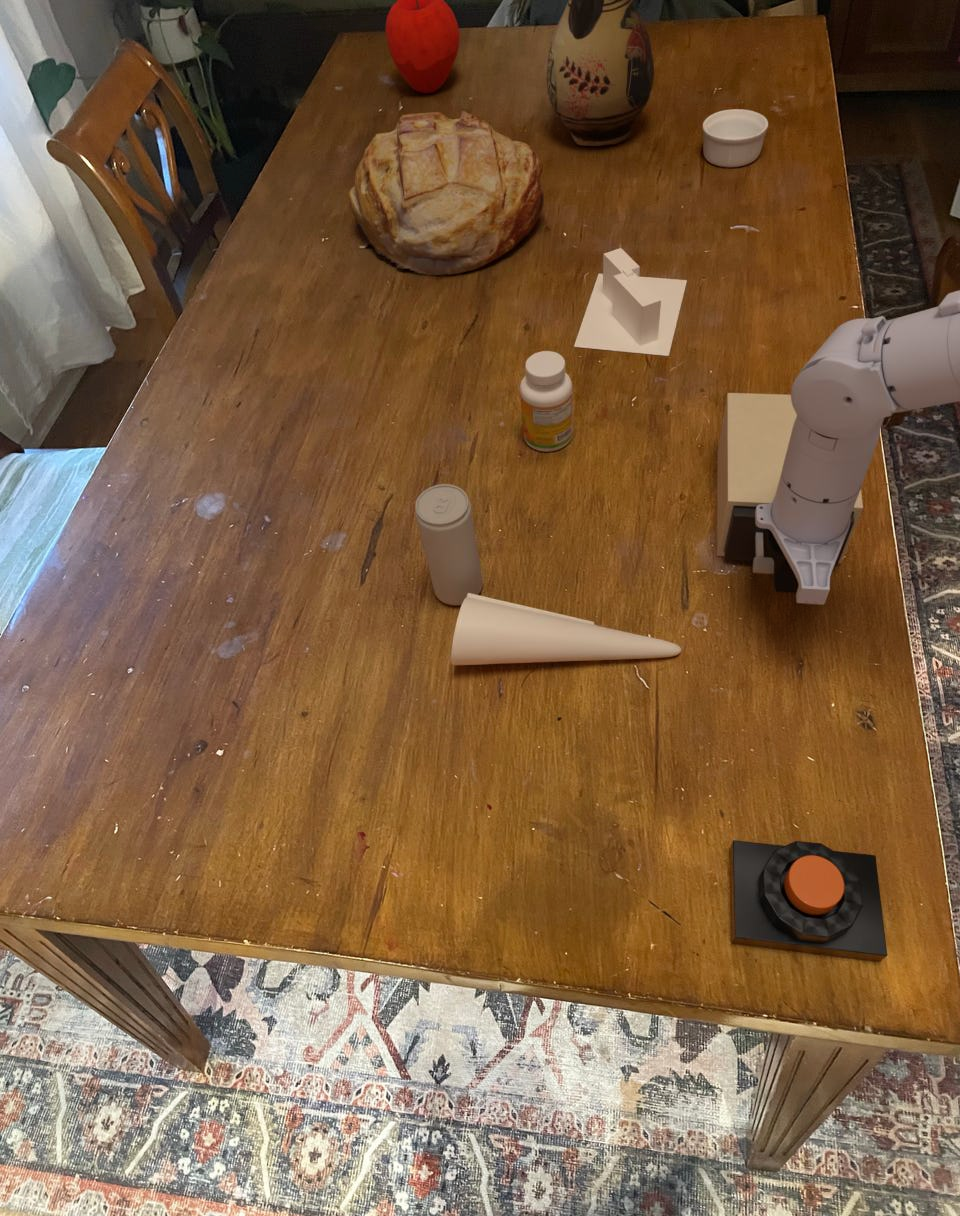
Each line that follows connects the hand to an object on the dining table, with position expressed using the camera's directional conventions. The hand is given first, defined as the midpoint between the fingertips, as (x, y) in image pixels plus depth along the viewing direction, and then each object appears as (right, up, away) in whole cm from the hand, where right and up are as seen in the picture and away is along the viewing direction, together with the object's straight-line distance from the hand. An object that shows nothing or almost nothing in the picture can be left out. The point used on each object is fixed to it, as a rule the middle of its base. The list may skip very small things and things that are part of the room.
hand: (787, 586), depth 74 cm
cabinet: (+2, +8, +10) cm, 13 cm away
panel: (-3, -23, -12) cm, 27 cm away
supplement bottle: (-19, +17, +19) cm, 32 cm away
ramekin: (+9, +63, +48) cm, 80 cm away
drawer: (+2, +6, +7) cm, 9 cm away
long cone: (-19, -7, +2) cm, 20 cm away
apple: (-35, +87, +71) cm, 117 cm away
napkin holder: (-8, +34, +30) cm, 46 cm away
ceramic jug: (-9, +70, +56) cm, 90 cm away
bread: (-31, +52, +45) cm, 75 cm away
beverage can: (-29, 0, +8) cm, 30 cm away
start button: (-4, -21, -15) cm, 26 cm away
